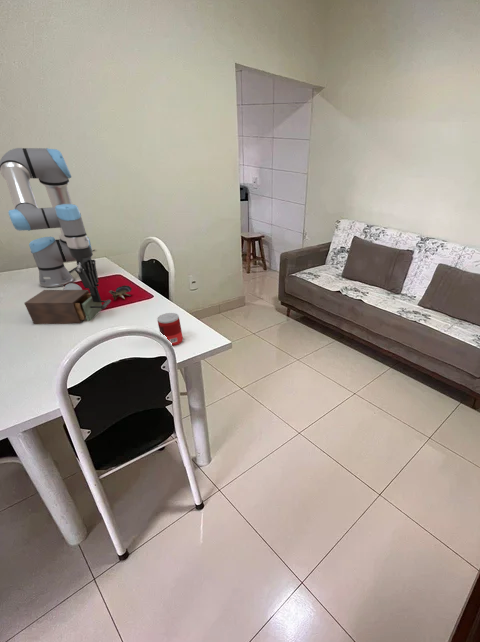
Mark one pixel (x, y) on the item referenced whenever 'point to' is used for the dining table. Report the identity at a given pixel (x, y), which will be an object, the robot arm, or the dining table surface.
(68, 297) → the cabinet
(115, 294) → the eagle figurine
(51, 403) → the dining table surface
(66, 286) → the ceramic mug
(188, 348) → the dining table surface
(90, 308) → the drawer
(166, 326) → the canned food
